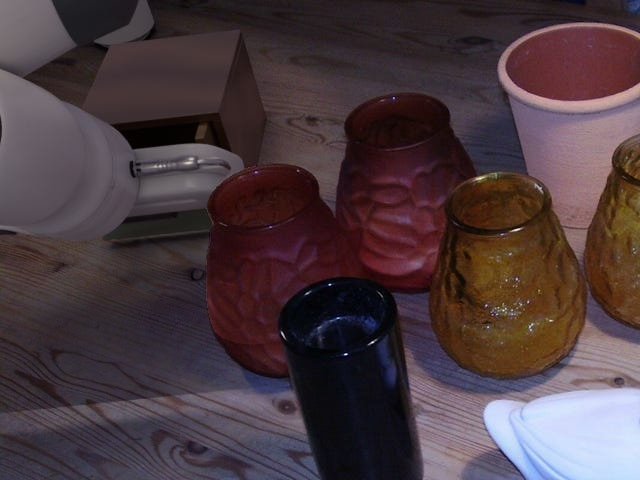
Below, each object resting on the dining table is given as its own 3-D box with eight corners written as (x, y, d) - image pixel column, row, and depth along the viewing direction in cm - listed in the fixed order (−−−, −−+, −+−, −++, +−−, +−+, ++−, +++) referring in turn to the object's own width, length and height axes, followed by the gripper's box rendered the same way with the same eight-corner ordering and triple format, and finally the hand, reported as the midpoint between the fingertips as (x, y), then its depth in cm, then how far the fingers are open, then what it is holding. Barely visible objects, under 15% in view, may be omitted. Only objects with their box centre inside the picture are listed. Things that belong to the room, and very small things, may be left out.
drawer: (226, 258, 84) (198, 182, 79) (94, 272, 85) (57, 197, 79) (251, 141, 97) (229, 68, 91) (136, 153, 97) (106, 82, 92)
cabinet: (248, 203, 91) (218, 111, 84) (113, 218, 91) (72, 128, 85) (266, 117, 101) (240, 28, 94) (144, 131, 102) (110, 44, 95)
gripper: (212, 112, 68) (264, 152, 82) (-81, 145, 69) (20, 179, 83) (221, 204, 68) (272, 229, 82) (-71, 236, 69) (28, 255, 83)
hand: (143, 204), depth 82 cm, fingers closed on drawer, 5 cm apart
